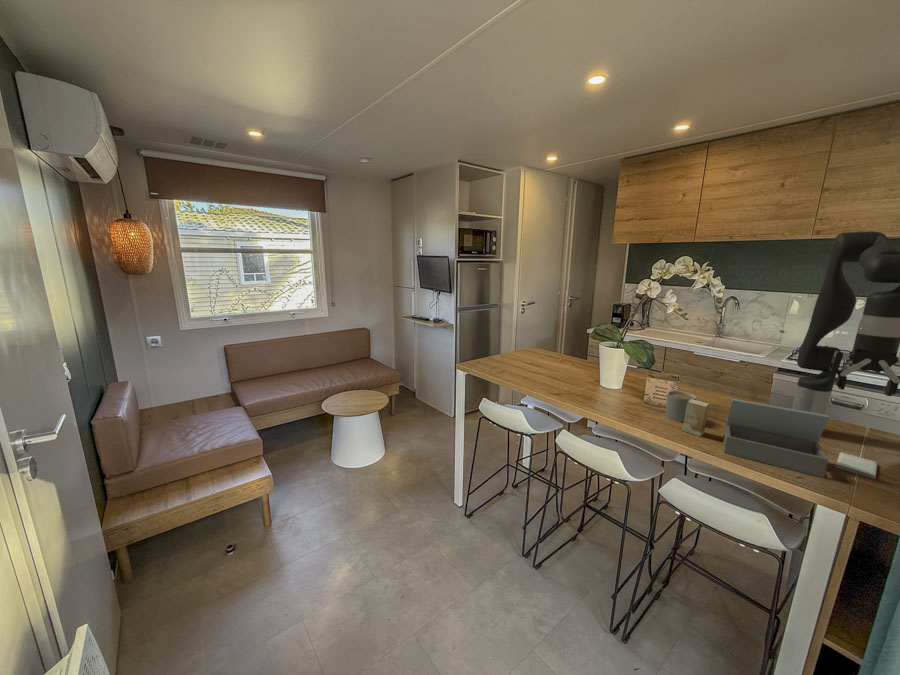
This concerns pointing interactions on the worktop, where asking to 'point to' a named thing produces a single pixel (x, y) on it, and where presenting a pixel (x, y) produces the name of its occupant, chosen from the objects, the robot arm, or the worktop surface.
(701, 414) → the skincare box
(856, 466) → the hard drive
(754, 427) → the cover
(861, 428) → the worktop surface
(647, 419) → the worktop surface
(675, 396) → the coffee mug
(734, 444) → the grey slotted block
